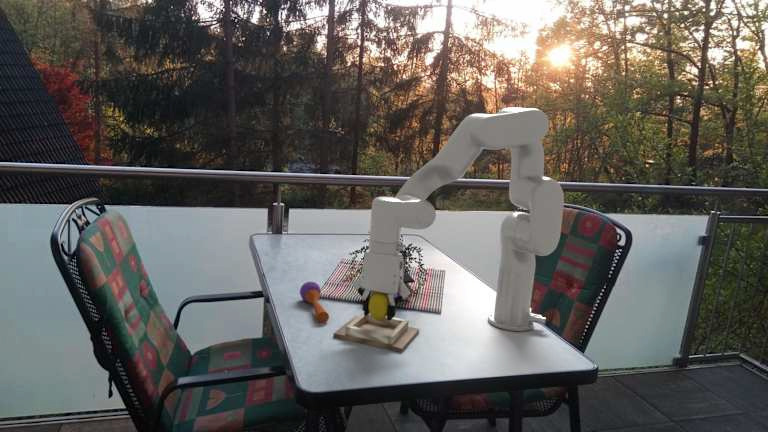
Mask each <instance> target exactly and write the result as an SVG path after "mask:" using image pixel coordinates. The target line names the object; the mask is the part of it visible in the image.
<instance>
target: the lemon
mask: <svg viewBox="0 0 768 432" xmlns="http://www.w3.org/2000/svg"><path fill="white" fill-rule="evenodd" d="M389 304H390V300H389V296H388V295H387V294H386V293H380V292H376V293H374V294H373V295H372V296H371V298H370V300H369V312H370V314H371V316H372V317H374V318H375V319H376V320H377V321H380V320H381V319H383V318H385V317H386V316H387V312H388V305H389Z"/></svg>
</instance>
